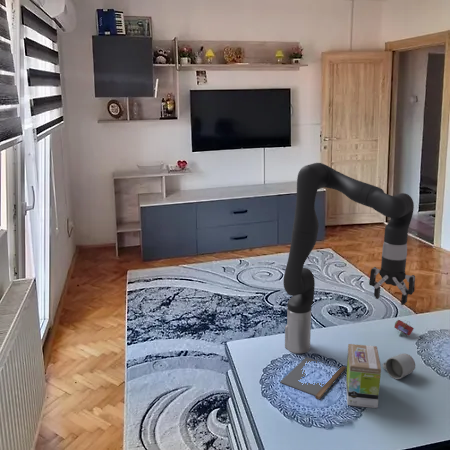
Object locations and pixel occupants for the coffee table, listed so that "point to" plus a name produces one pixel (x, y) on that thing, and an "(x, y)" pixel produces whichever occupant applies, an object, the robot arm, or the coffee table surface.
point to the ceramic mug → (399, 366)
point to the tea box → (363, 376)
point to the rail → (329, 383)
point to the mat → (297, 374)
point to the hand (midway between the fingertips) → (390, 301)
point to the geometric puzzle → (403, 327)
